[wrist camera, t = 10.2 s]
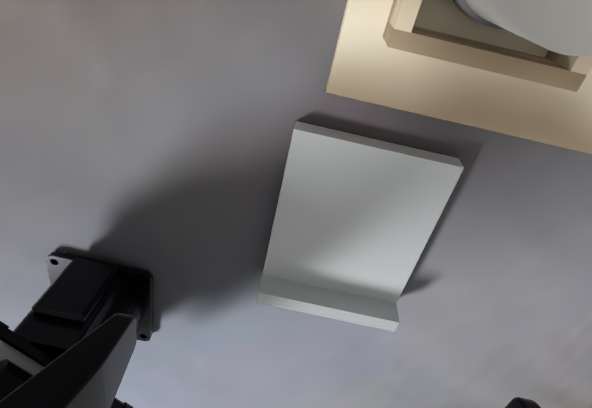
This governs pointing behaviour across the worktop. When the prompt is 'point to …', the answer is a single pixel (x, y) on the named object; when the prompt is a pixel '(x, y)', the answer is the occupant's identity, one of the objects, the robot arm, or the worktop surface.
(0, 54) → the worktop surface
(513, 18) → the white capsule peg
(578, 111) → the socket board
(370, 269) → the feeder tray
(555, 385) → the worktop surface
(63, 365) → the robot arm
